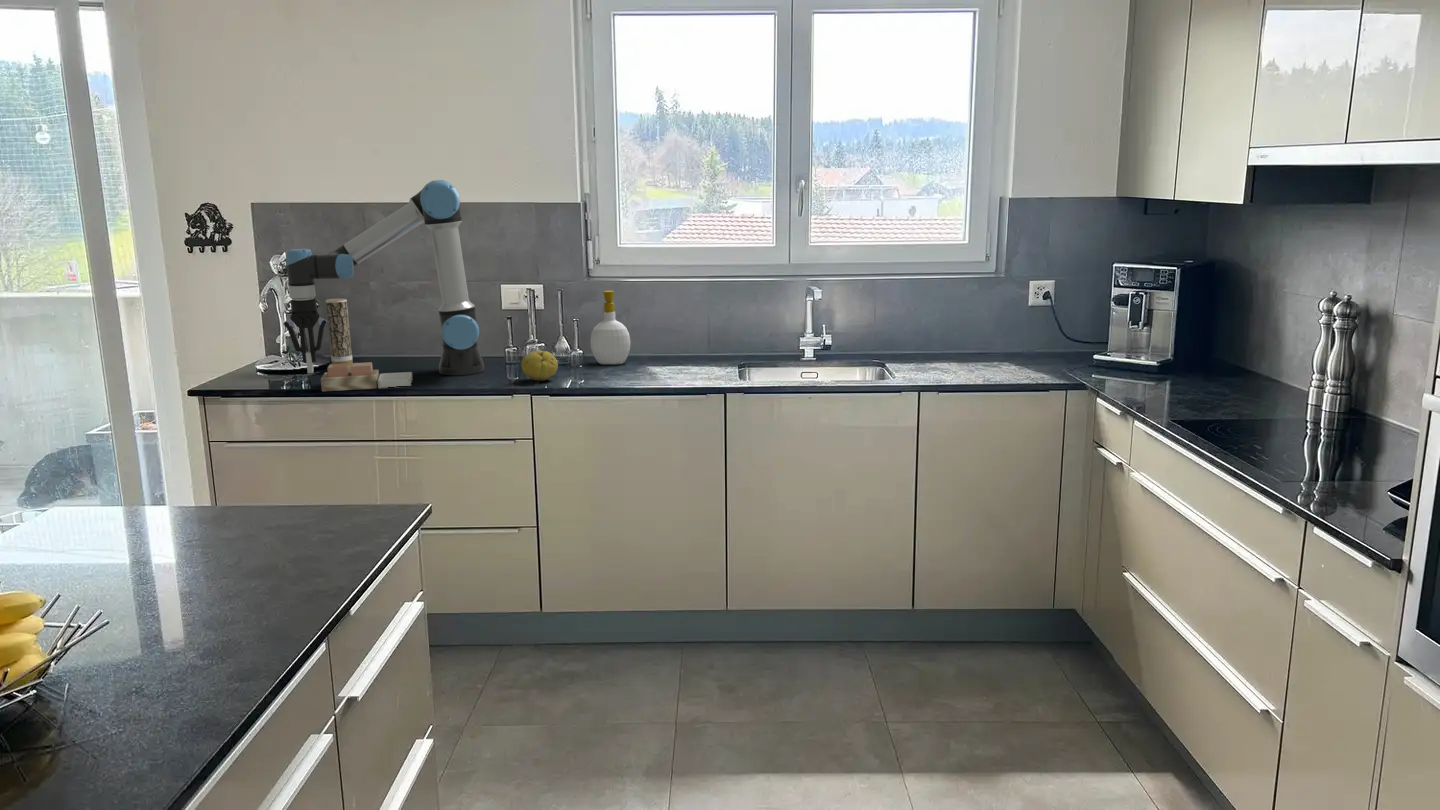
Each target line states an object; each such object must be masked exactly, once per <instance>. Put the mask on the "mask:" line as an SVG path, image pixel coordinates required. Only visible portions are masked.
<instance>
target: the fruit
mask: <svg viewBox="0 0 1440 810" xmlns="http://www.w3.org/2000/svg"><path fill="white" fill-rule="evenodd" d="M521 359H522V360H521V364H520V365H521V369H522V371H523V374H524V375H525V376H527V377H528V378H529V379H531V380H534V381H537V382H543V381H546V380H548V379H550V378H552V376H554V375H555V374H556V373H557V371H558V367H559V364H558V360H557V358H556V357H555V355H554V354H553V353H551V352H549V351H546V350H545V351H543V350H540V349H537V350H534V351H532V352H529V353H528V354H526V355H524V356H523V358H521Z"/></svg>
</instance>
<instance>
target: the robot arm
mask: <svg viewBox="0 0 1440 810" xmlns="http://www.w3.org/2000/svg"><path fill="white" fill-rule="evenodd" d="M460 202H461V198H460V194H459V191H458V190H457V189H456V187H455V186H454V185H453V184H452V183H450V182H448V181H446V180H444V179H443V180H442V179H436V180H431V181H429V182H428V183H426V184H425V185H424V187H422V189H421V190H420V191H419V192H418V193H416V194H415V195H413V196H412V197H410V198H409V202H408V203H406V204H405V205H403V206H402V207H400V208H399V209H397V210H395V211H394V212H392V213H391V214H389V215H388V216H386V217H385V218H383V219H382V220H380V221H377V223H375V224H373V225H372V226H370V227H368V228H367V229H365V231H362V232H361V233H360V234H358V235H357V236H355V237H353V238H352V239H350V240H348V241H347V242H345V243H343V245H340V247H337V248H336V249H335V250H332V251H331V252H329V253H328V254H318V255H317V254H313V253H312V250H311V248H292V249H291V248H290V249H288V250H287V251H286V252H285V261H286V266H285V267H286V272H287V281H288V290H289V291H288V293H289V298H290V299H291V300H290V302H289V303H290V310H291V315H290V316H289V317H290V318H289V319H288V320H285V321H284V322H283V326H284V327H285V328H286V330H287V331H288V334H289V336H290V340H291V342H292V344H293V347H294V350H295V351H296V352H300V353H301V357H302V362H303V364H304V363H305V364H306V369H307V370H306V371H307V374H314V363H315V362H317V357H316V356H317V355H316V352H317V351H320V350H321V349H322V344H323V339H324V333H325V327H326V325H327V324H328V319H327V318H322V317H320V314H319V312H318V305H317V304H318V303H317V299H316V298H315V297H316V296H317V295H316V285H315V280H321V279H322V280H325V279H326V280H327V279H329V280H331V279H334V280H335V279H340V280H344V279H351V278H353V277H354V276H355V268H354V267H356V266H357V265H358V264H360V263H362V262H363V261H364V260H367V259H369V258H370V257H371V256H372V255H374V254H375V253H377V252H379V251H381V250H383V248H385V247H387V246H389V245H391V243H394V242H395V241H397V240H398V239H399V238H401V237H402V236H404V235H406V234H407V233H409V232H411V231H412V230H414V229H415V228H417V227H418V226H421V225H422V224H424V226H425V227H427V228H428V229H429V231H430V234H431V239H432V247H433V248H432V249H433V252H434V260H435V266H436V267H435V268H436V272H437V279H438V284H439V285H438V286H439V291H440V296H441V297H440V298H441V303H442V304H441V305H440V306H439V308H438V317H439V321H440V327H441V329H440V330H441V331H440V333H441V341H442V353H441V357H440V359H439V360H440V361H439V365H438V372H439V374H440V375H445V376H466V375H467V376H468V375H469V376H470V375H475V374H479V373H482V372H484V371H485V365H484V361H483V358H482V355H481V353H480V350H479V348H478V338H479V337H480V326H479V325H478V320H477V319H478V318H477V314H476V313H477V311H476V305H475V304H474V303H472V302H471V300H470V297H469V291H468V285H467V284H468V283H467V277H466V271H465V265H464V264H465V263H464V258H463V252H462V251H463V250H462V245H461V237H460V231H459V226H460V225H461V223H462V222H463V219H462V212H461V205H460V204H461V203H460ZM317 322H318V325H319V327H318V333H317V340H316V341H315V333H314V328H315V327H314V326H315V325H316V324H317ZM294 324H295V326H296V327H297V328H298V330H299V339H300V343H299V340H298V338H297V335H296V332H295V330H294V327H293V325H294ZM306 329H307V331H308V342H309V351H308V349H307V340H306ZM315 342H316V344H315Z"/></svg>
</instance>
